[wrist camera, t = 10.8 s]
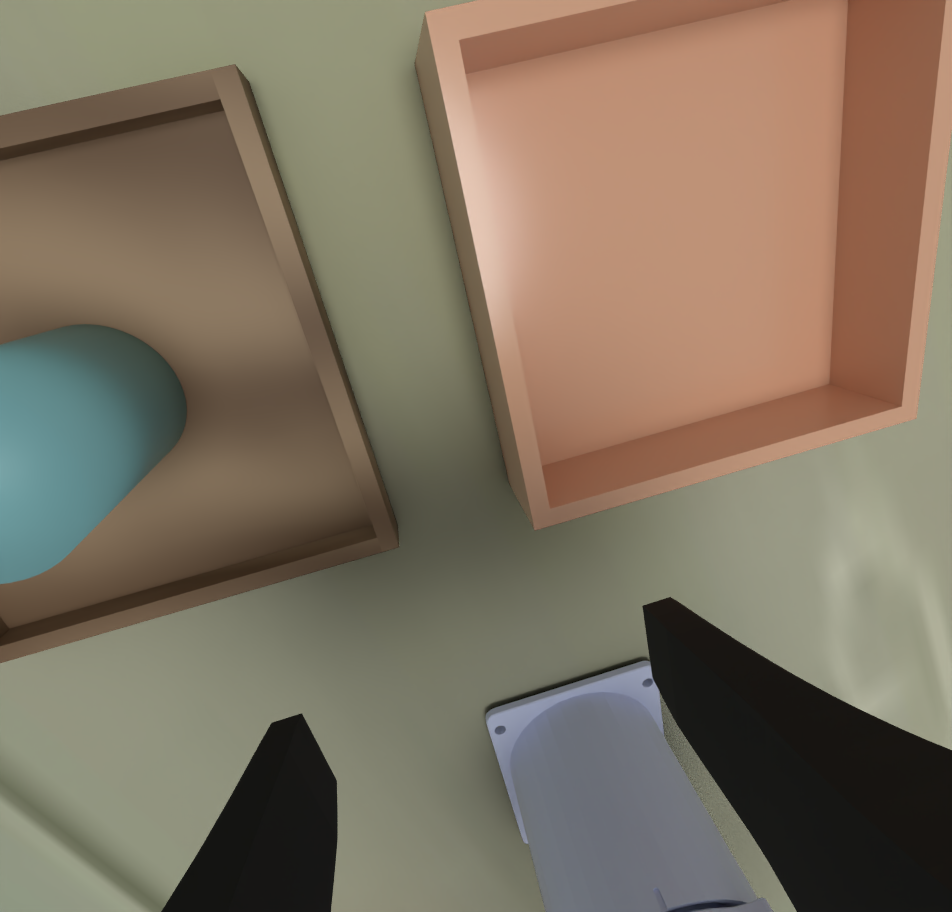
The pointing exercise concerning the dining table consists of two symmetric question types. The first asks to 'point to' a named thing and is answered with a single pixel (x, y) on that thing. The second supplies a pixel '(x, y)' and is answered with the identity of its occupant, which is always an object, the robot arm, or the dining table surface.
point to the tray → (185, 352)
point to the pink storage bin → (689, 227)
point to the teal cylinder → (76, 436)
